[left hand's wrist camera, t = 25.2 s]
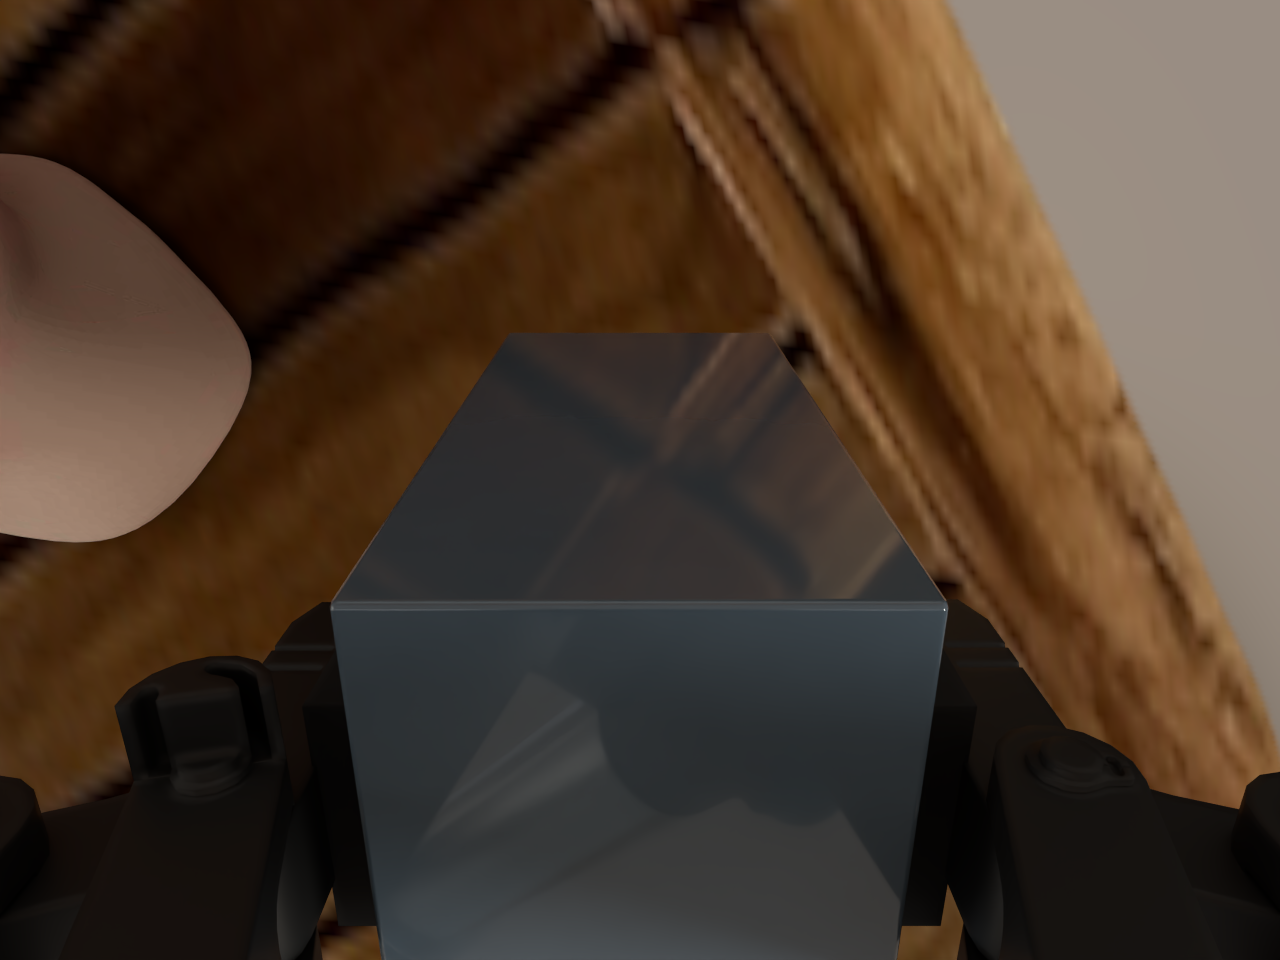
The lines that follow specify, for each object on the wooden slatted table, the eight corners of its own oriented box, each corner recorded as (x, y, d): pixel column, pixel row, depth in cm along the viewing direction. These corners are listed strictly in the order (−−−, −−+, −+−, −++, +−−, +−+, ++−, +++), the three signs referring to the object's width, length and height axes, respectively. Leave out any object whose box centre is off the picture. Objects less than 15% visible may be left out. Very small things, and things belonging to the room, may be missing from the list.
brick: (770, 332, 16) (952, 603, 7) (755, 613, 18) (876, 1114, 9) (507, 331, 16) (325, 603, 7) (523, 613, 18) (401, 1113, 9)
